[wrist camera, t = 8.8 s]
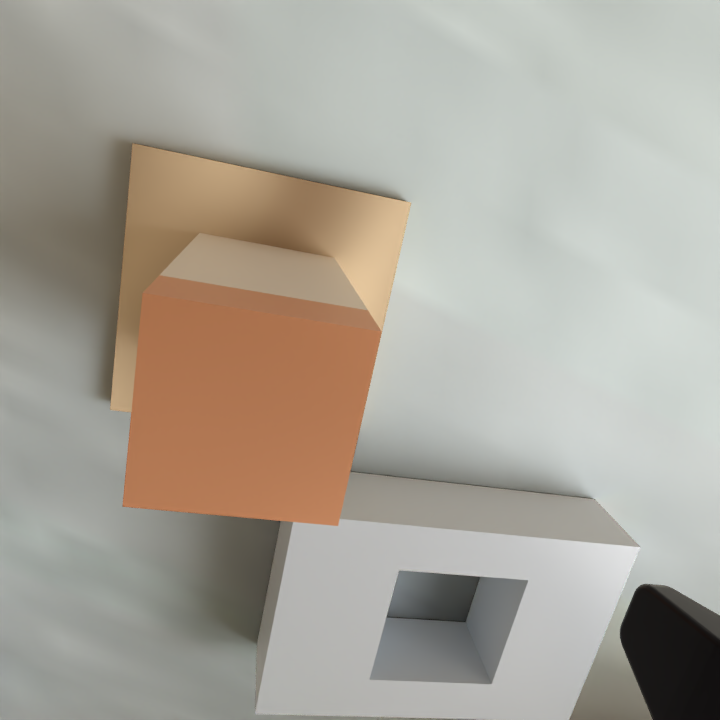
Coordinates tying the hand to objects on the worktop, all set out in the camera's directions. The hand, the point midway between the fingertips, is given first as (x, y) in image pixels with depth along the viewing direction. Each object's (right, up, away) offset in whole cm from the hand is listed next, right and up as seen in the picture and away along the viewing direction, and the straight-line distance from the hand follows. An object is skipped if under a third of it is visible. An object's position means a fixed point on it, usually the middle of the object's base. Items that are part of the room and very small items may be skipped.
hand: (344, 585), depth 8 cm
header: (+3, -5, +15) cm, 16 cm away
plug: (-3, +5, +10) cm, 11 cm away
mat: (-3, +5, +10) cm, 12 cm away
